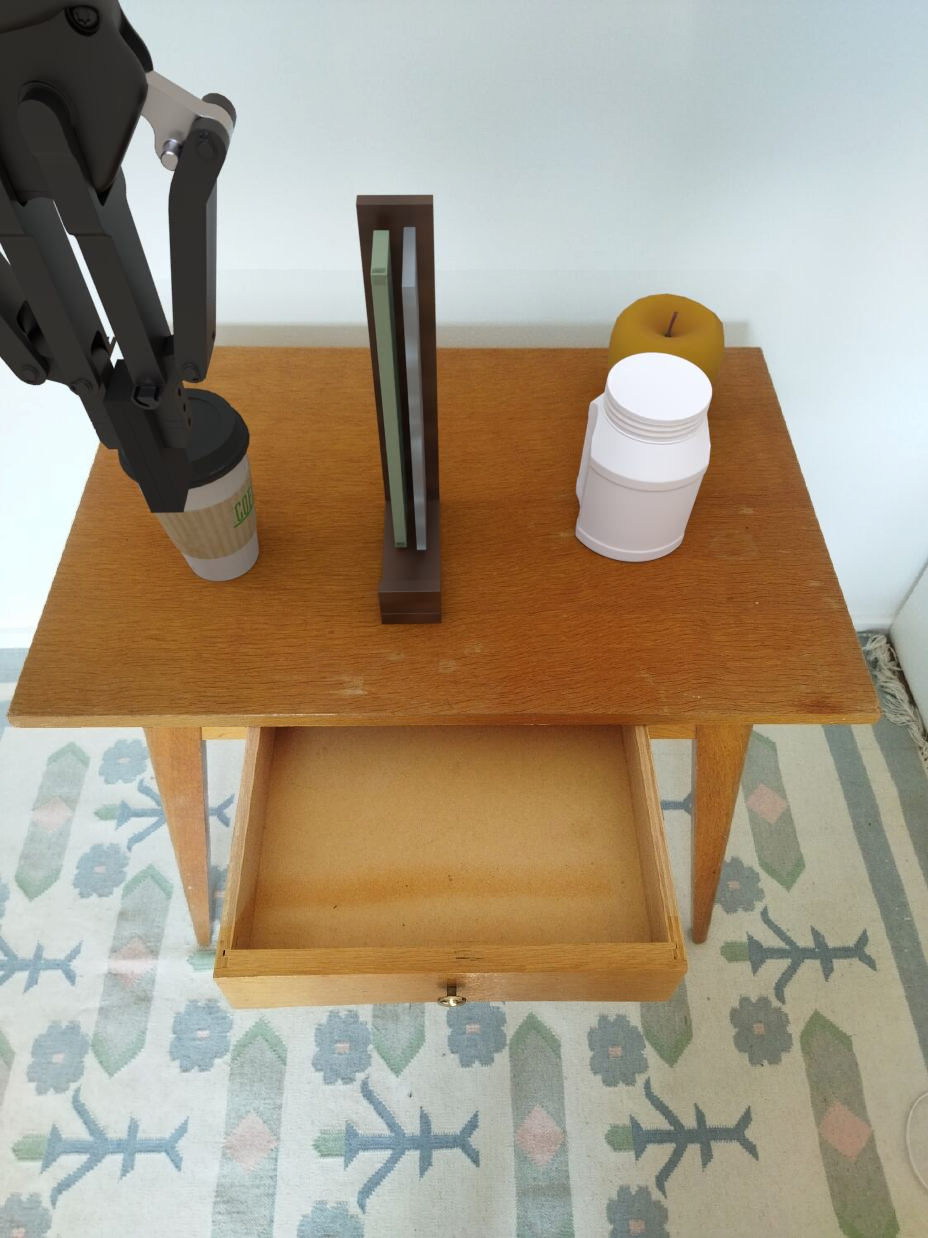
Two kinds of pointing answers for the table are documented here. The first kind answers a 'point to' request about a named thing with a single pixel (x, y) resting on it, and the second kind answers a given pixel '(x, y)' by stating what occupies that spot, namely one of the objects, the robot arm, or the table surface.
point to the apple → (669, 332)
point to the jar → (643, 457)
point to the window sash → (389, 379)
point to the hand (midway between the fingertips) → (172, 491)
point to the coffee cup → (214, 493)
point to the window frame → (408, 402)
